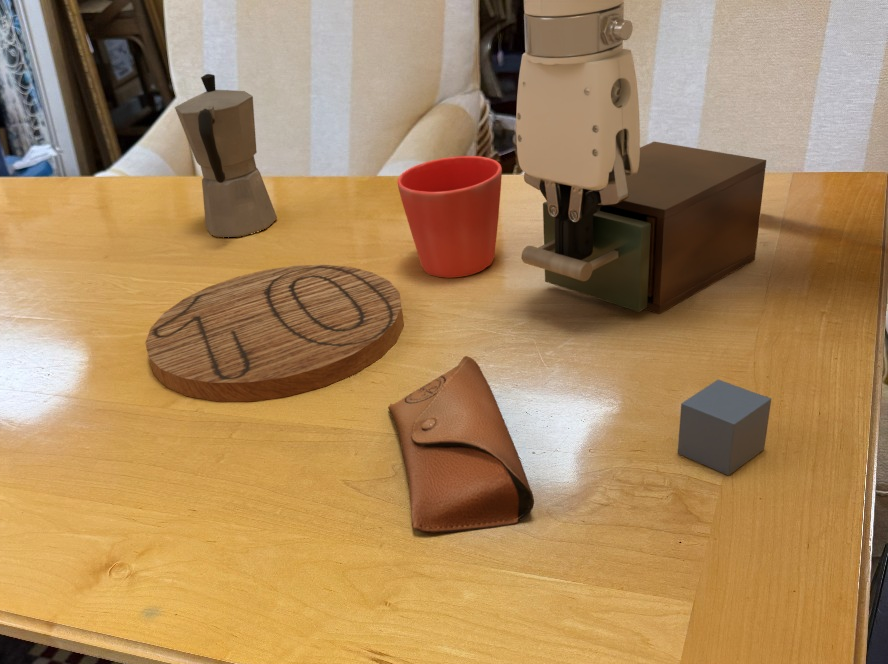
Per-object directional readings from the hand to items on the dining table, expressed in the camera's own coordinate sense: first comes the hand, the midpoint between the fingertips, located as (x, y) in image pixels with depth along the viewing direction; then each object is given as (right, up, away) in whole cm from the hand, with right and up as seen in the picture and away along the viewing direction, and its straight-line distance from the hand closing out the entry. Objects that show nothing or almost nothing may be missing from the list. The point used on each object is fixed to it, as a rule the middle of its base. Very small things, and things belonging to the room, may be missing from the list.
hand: (574, 257), depth 82 cm
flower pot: (-9, +4, +16) cm, 19 cm away
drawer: (+5, -1, +5) cm, 8 cm away
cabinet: (+10, +1, +8) cm, 13 cm away
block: (+7, -18, -17) cm, 26 cm away
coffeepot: (-35, +13, +34) cm, 51 cm away
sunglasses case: (-12, -19, -13) cm, 26 cm away
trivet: (-28, -6, +8) cm, 29 cm away
